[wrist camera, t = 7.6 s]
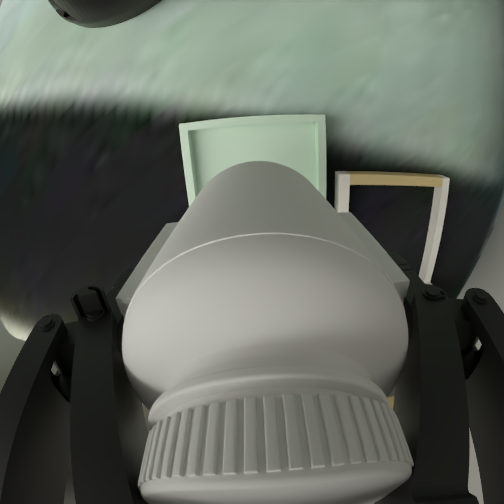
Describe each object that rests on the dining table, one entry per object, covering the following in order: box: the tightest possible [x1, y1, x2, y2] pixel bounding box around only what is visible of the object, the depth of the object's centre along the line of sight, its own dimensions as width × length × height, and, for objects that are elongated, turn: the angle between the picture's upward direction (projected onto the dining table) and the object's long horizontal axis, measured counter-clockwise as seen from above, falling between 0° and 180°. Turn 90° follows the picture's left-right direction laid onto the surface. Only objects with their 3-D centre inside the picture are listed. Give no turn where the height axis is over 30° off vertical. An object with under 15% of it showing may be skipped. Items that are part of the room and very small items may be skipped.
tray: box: [179, 114, 326, 207], centre depth 25 cm, size 12×12×2 cm
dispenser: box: [334, 171, 480, 410], centre depth 22 cm, size 22×13×17 cm, turn 4°
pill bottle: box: [122, 161, 414, 504], centre depth 10 cm, size 8×8×15 cm
